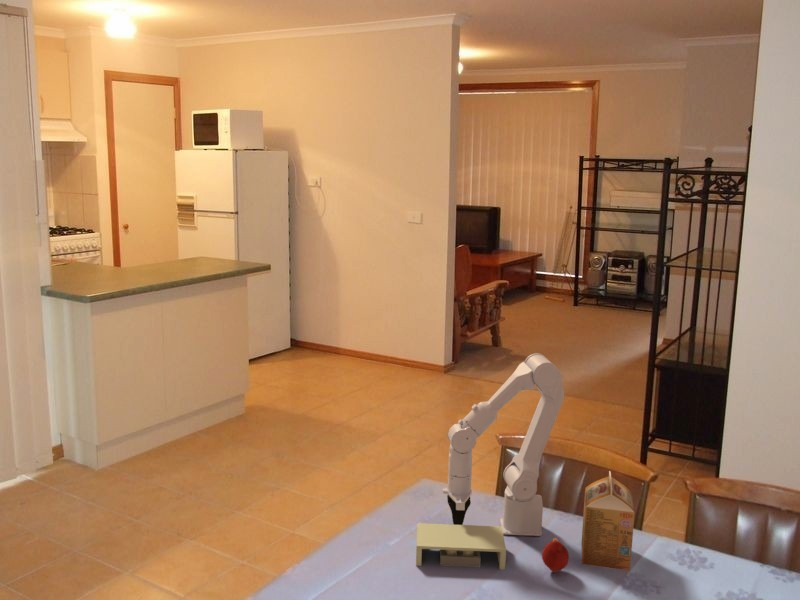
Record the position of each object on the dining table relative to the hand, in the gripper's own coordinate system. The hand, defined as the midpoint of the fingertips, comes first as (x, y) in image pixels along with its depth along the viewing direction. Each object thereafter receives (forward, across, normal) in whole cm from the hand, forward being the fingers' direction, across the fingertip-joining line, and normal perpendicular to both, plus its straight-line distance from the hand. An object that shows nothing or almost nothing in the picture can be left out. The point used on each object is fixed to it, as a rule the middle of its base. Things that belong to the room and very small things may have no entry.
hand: (457, 524), depth 189 cm
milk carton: (+2, +10, +34) cm, 35 cm away
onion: (+2, +18, +21) cm, 28 cm away
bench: (+1, +12, 0) cm, 12 cm away
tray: (+2, +12, 0) cm, 12 cm away
